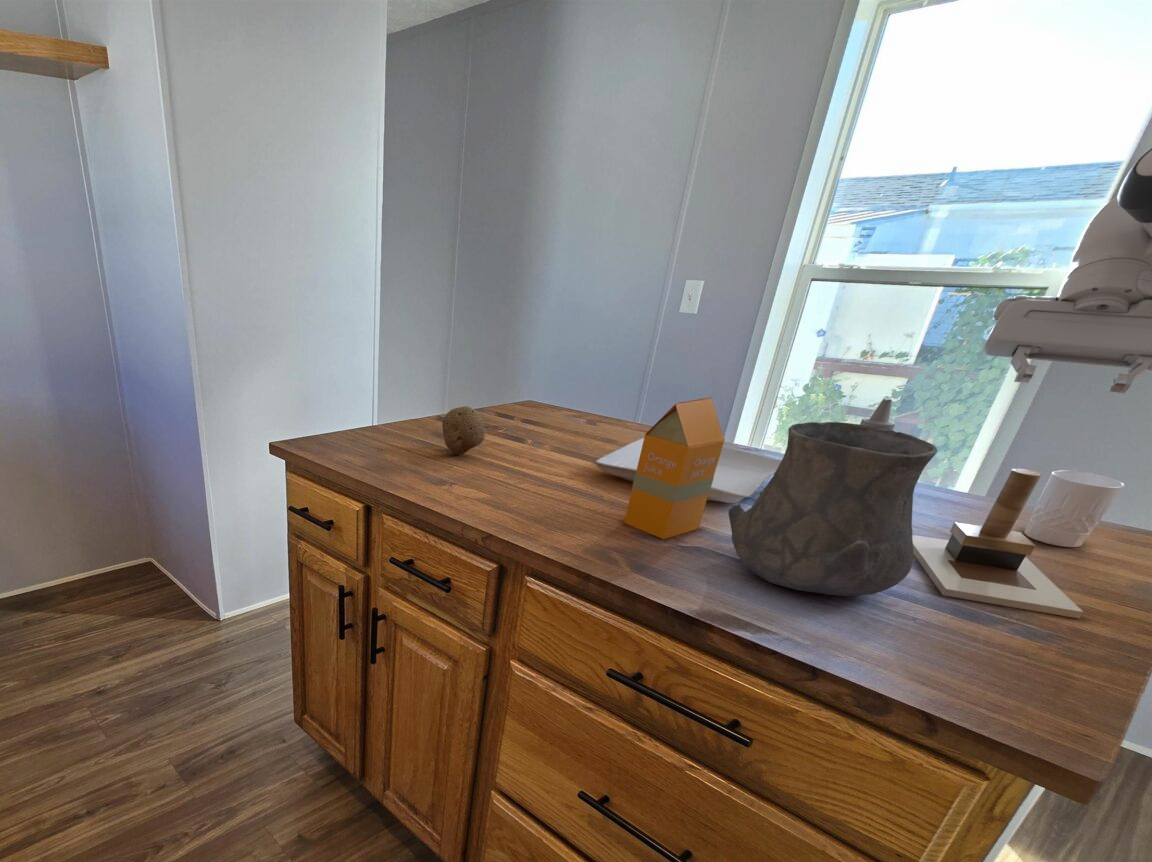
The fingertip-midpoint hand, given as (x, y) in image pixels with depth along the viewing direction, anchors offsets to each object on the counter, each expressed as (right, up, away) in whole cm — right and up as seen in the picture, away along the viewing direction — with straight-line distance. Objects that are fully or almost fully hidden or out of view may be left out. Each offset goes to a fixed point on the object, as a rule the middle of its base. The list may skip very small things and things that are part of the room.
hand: (1069, 384), depth 88 cm
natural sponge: (-73, +2, +51) cm, 89 cm away
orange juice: (-46, -17, +18) cm, 53 cm away
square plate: (-31, -5, +39) cm, 50 cm away
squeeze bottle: (-8, -12, +29) cm, 33 cm away
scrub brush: (-6, -23, +7) cm, 25 cm away
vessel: (-34, -26, +3) cm, 43 cm away
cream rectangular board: (-8, -25, +4) cm, 27 cm away
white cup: (+15, -19, +16) cm, 29 cm away
